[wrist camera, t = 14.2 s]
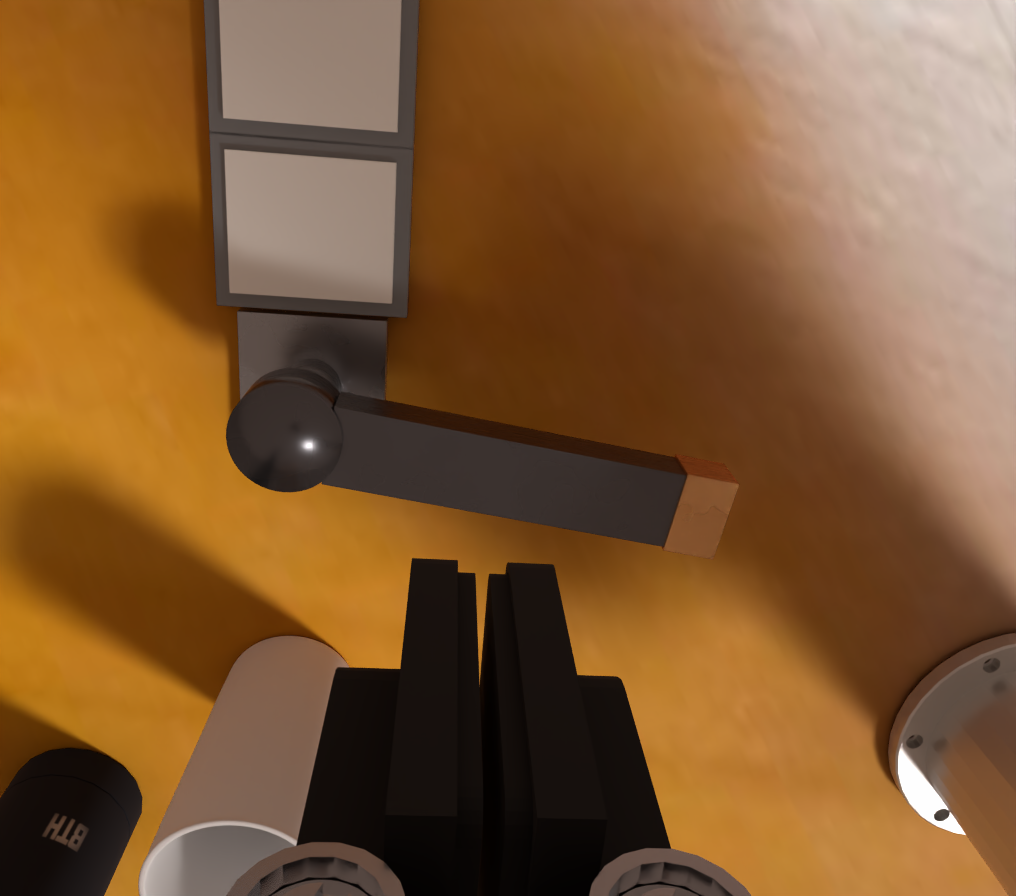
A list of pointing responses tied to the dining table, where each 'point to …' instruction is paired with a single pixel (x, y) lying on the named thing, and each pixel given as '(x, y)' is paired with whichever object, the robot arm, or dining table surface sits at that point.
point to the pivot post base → (315, 348)
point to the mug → (245, 771)
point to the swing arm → (474, 465)
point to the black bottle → (66, 824)
